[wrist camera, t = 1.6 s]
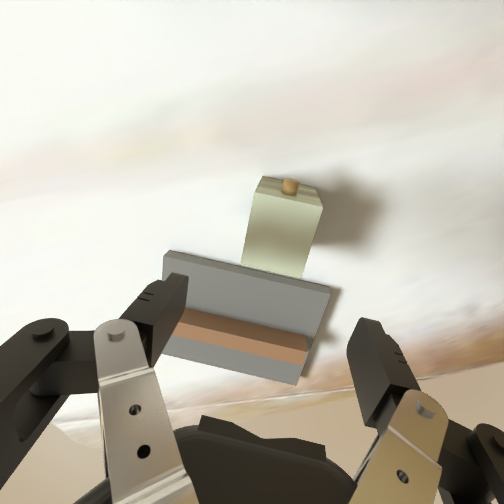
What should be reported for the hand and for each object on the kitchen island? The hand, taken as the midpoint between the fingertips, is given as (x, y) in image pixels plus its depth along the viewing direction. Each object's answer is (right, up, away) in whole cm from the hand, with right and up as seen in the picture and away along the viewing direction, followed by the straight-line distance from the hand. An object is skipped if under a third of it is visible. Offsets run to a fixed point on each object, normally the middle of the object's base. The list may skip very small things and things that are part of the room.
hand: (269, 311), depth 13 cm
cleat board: (-3, -5, +20) cm, 21 cm away
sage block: (+2, +7, +14) cm, 16 cm away
